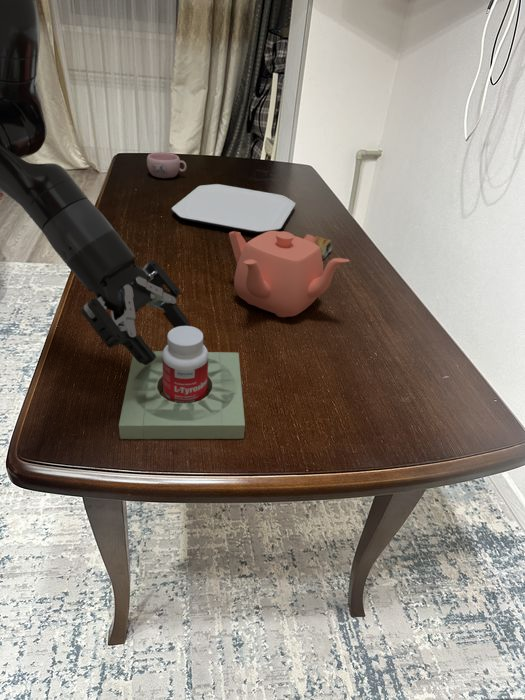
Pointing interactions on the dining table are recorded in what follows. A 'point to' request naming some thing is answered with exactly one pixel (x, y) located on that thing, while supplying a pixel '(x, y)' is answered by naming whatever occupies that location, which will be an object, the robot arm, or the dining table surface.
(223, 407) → the socket pad
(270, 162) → the dining table surface
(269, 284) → the teapot
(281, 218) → the plate
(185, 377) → the pill bottle
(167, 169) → the mug
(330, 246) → the pastry
